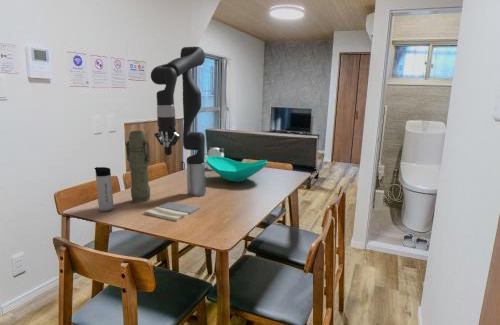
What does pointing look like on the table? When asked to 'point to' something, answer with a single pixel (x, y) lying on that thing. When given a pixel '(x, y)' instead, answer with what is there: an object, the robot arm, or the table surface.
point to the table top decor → (234, 168)
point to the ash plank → (166, 213)
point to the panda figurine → (215, 153)
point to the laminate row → (179, 207)
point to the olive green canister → (138, 166)
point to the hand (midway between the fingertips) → (168, 154)
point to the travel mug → (104, 189)
